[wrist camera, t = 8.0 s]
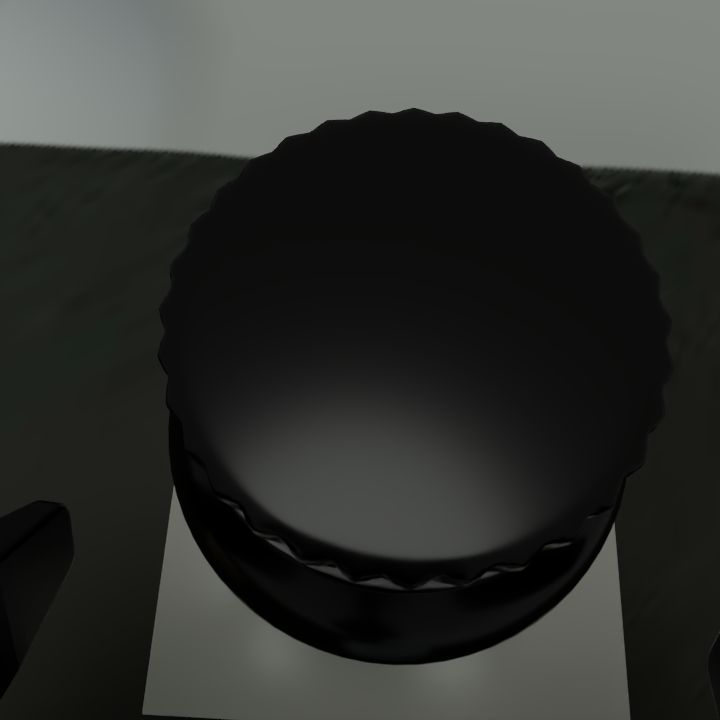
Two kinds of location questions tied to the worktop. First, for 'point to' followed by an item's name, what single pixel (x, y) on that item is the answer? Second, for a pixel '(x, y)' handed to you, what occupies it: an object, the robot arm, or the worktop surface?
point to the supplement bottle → (409, 383)
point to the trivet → (377, 681)
